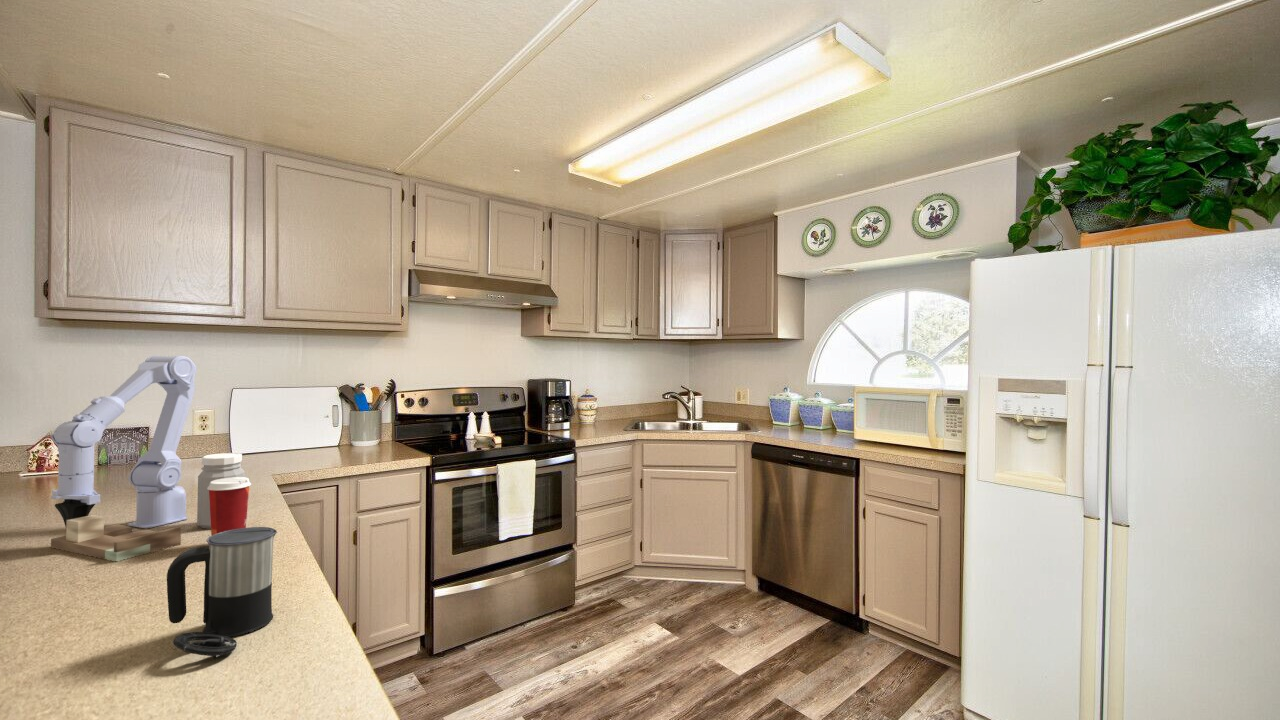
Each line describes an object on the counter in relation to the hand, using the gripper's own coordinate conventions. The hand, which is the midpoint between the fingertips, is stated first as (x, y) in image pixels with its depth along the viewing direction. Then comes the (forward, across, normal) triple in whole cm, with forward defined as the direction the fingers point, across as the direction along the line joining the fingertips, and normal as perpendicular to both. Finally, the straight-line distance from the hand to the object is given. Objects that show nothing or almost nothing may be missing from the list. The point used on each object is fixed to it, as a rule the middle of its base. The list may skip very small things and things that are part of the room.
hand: (75, 532), depth 125 cm
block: (+1, +4, 0) cm, 4 cm away
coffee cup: (+3, +31, +13) cm, 34 cm away
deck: (+3, +9, +3) cm, 10 cm away
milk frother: (+3, +76, -16) cm, 77 cm away
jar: (+3, +13, +23) cm, 27 cm away
